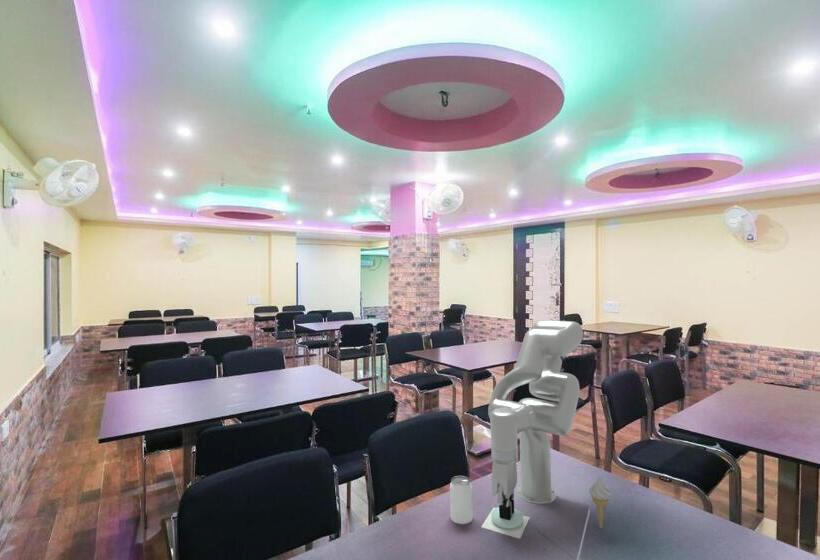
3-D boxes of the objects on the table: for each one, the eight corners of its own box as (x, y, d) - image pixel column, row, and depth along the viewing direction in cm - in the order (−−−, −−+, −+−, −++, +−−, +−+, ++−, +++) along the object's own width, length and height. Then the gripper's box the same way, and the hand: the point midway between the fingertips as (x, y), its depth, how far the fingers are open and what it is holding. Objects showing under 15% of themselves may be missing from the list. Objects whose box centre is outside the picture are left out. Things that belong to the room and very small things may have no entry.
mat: (493, 510, 125) (493, 507, 125) (529, 520, 119) (529, 517, 119) (481, 530, 115) (481, 526, 115) (519, 542, 110) (519, 538, 109)
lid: (496, 506, 124) (496, 490, 124) (526, 514, 119) (526, 497, 119) (487, 523, 116) (486, 506, 116) (518, 532, 111) (518, 514, 111)
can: (472, 528, 116) (471, 486, 116) (449, 526, 117) (448, 484, 117) (473, 515, 122) (472, 475, 122) (451, 513, 124) (450, 474, 124)
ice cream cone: (610, 524, 116) (609, 472, 116) (613, 536, 111) (612, 481, 111) (589, 521, 118) (588, 470, 118) (591, 532, 113) (589, 479, 113)
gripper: (500, 439, 126) (502, 498, 126) (482, 462, 112) (485, 527, 112) (524, 444, 122) (527, 504, 123) (509, 468, 108) (511, 535, 109)
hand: (506, 514), depth 118 cm, fingers closed on lid, 2 cm apart
